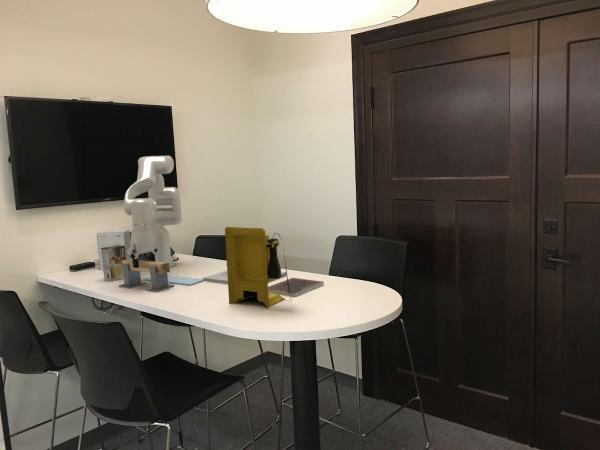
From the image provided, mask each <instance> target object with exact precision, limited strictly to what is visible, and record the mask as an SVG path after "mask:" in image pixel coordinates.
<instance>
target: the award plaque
mask: <svg viewBox="0 0 600 450" xmlns="http://www.w3.org/2000/svg"><path fill="white" fill-rule="evenodd" d="M284 277H287V275H286V271H281V278H280V279H282V278H284ZM202 279H203V280H204V281H206V282H205V283H212V282H213V283H215V284H222V285H228V275H227V269H226V270H224V271H221V272H216V273H214V274H211V275H207V276H205V277H202ZM204 281H203V282H204ZM274 281H275V280H271V282H274Z"/></svg>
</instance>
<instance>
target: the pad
mask: <svg viewBox="0 0 600 450" xmlns="http://www.w3.org/2000/svg"><path fill="white" fill-rule="evenodd" d="M167 275H168V284H170V285H178V286H179V285H180V286H189V287H191V285H192V286H194V284H195V285H198V284H201V283H203V282H204V280H203V278H198V277H197V278H196V277H186V276H178V275H171V274H170V275H169V274H167ZM145 280H146V281H145ZM142 281H145V282H151V275H150V276H147V277H143V278H142Z"/></svg>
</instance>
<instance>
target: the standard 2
mask: <svg viewBox="0 0 600 450" xmlns="http://www.w3.org/2000/svg"><path fill="white" fill-rule="evenodd" d="M149 273H150V276H151V281H150V284H151V285H150V287H147V288H145V291H146V292H154V293H159V292H162V290H163V291H165V289H166V290H169V289H172V288H174V287H175V284H170V283H168V275H169V274H168V273H164V274H160V273H157V267H155V266H151V267H150V272H149Z"/></svg>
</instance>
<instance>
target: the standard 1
mask: <svg viewBox="0 0 600 450" xmlns="http://www.w3.org/2000/svg"><path fill="white" fill-rule="evenodd" d="M123 273H124V279H123V282H124V283H122V284H119V285H118V288H122V287H124V289H134V288H136V286H137V287H140V286H142V285H147V284H146V283H148V281H145V280H142V277H141V275H142V274H141V271H132V270H130V268H129V264H123Z"/></svg>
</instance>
